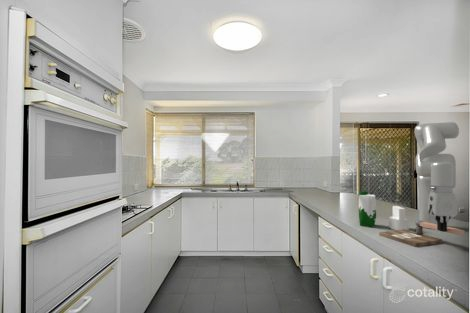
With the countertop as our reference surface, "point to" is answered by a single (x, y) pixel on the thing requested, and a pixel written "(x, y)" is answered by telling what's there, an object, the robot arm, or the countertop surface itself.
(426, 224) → the swing arm
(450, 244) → the countertop surface
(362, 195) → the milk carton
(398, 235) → the label board
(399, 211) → the base with upright slab
